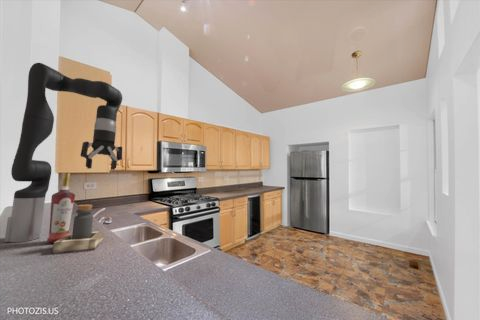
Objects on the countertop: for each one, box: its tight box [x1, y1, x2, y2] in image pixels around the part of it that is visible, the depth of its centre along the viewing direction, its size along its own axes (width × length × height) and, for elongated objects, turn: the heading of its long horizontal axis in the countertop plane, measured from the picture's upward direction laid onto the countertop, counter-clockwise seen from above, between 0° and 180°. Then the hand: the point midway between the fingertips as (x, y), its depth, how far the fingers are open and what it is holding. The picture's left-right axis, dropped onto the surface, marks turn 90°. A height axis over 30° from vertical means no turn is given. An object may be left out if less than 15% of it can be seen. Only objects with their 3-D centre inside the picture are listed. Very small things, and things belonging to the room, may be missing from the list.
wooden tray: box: [52, 230, 105, 255], centre depth 75 cm, size 12×12×4 cm
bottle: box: [71, 203, 94, 240], centre depth 76 cm, size 6×6×15 cm
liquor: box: [46, 172, 76, 245], centre depth 81 cm, size 7×7×28 cm
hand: (101, 169), depth 80 cm, fingers open, 8 cm apart
